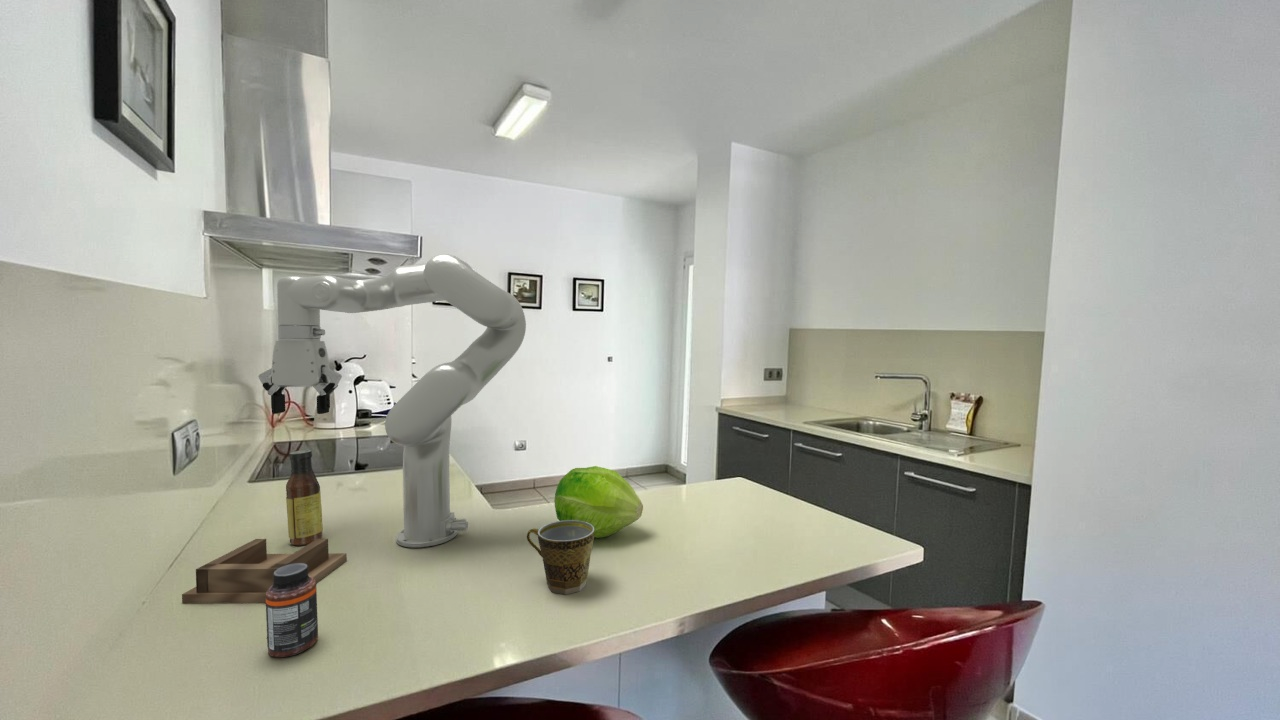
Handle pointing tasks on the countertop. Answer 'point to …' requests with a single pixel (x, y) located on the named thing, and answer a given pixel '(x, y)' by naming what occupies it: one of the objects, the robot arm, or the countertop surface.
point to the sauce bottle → (303, 500)
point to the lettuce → (597, 500)
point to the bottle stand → (256, 572)
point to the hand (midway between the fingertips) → (300, 413)
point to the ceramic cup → (565, 554)
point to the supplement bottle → (291, 611)
